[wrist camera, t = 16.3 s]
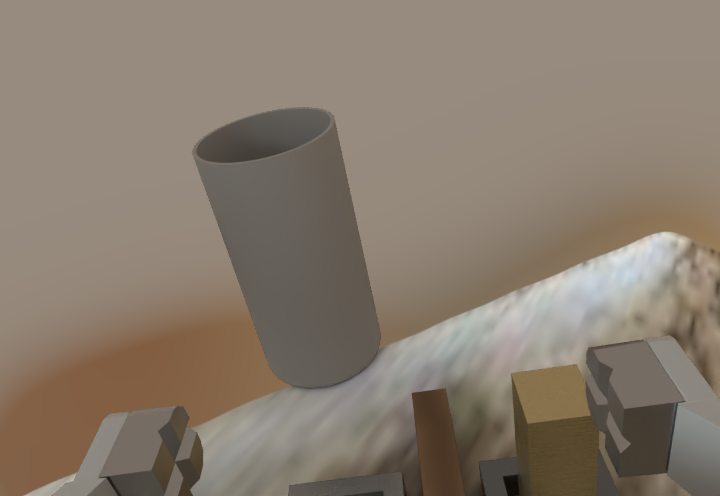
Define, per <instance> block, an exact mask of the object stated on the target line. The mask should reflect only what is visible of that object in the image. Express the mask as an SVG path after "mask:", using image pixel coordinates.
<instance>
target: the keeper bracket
mask: <svg viewBox="0 0 720 496" xmlns="http://www.w3.org/2000/svg"><path fill="white" fill-rule="evenodd" d="M479 468H480V477H481V484H482V488H483V493H484V496H516V495H519V486H518V470H517V457H514V458H506V459H497V460H489V461H481V462H479ZM596 496H620V495H619V493H618V491H617V489H616V486H615V484H614V482H613V480H612V477H611V475H610V473H609V470H608V468H607V466H606V464H605V461H604V459H603V457H602V455H601V452H600V450H599V448H598V466H597V487H596Z"/></svg>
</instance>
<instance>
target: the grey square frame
mask: <svg viewBox="0 0 720 496" xmlns="http://www.w3.org/2000/svg"><path fill="white" fill-rule="evenodd" d="M288 496H406V488H405V484H404V480H403V475H402V471H401V472H393V473H385V474H376V475H368V476H360V477H352V478H344V479H336V480H328V481H320V482H312V483H304V484H296V485H289V493H288Z"/></svg>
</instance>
